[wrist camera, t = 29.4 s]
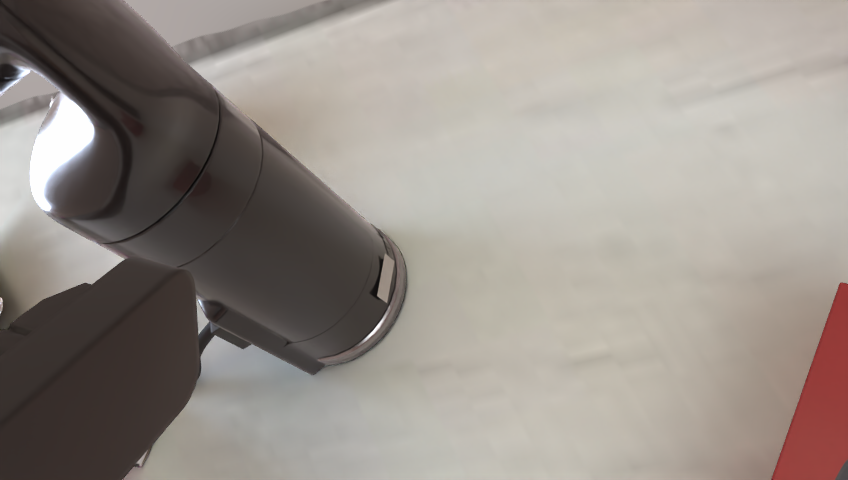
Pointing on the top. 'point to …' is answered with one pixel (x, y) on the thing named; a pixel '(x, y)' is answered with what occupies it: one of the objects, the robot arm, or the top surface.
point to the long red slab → (821, 406)
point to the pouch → (1, 304)
